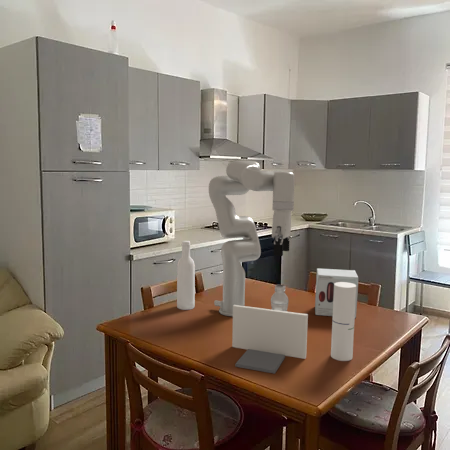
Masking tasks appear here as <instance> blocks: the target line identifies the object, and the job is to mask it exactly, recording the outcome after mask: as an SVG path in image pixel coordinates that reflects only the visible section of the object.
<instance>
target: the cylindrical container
mask: <svg viewBox="0 0 450 450" xmlns="http://www.w3.org/2000/svg"><path fill="white" fill-rule="evenodd" d="M355 300H356V285H355V284H353V283H348V282H337V283H334V297H333V316H332V320H331V321H332V322H331V324H332V325H331V345H330V348H331V349H330V357H331V358H332V359H334V360H336V361H340V362H349V361H351V360H352V359H353V357H354V356H353V355H354V354H353V353H354V336H355V335H354V334H355V319H356V318H355Z"/></svg>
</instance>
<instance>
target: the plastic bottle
mask: <svg viewBox="0 0 450 450" xmlns="http://www.w3.org/2000/svg"><path fill="white" fill-rule="evenodd" d="M270 305H271V310H279V311H287V312H288V307H289V297H288V295H287V294H286V285H285V284H276V285H275V286H274V293H273V294H272V295H271V297H270Z"/></svg>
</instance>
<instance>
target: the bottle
mask: <svg viewBox="0 0 450 450" xmlns="http://www.w3.org/2000/svg"><path fill="white" fill-rule="evenodd" d="M191 246H192V245H191V241H190V240H182V241H181V257H180V258H179V259H178V261H177V265H176V278H177V279H176V282H177V283H176V307H177V309H179V310H182V311H190V310H193V309H194V308H195V304H196V301H195V299H196V298H195V297H196V296H195V288H196V287H195V286H196V284H195V283H196V282H195V281H196V280H195V277H196V275H195V273H196V271H195V270H196V269H195V268H196V265H195V264H196V263H195V261H194V259H193V258H192V257H191Z"/></svg>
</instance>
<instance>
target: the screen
mask: <svg viewBox="0 0 450 450" xmlns="http://www.w3.org/2000/svg"><path fill="white" fill-rule="evenodd" d="M308 320H309V314H308V313H301V312H292V311H288V310H287V311H279V310H272V308H271V309H269V308H262V307H256V306H255V307H253V306H247V305H245V306H240V305H234V306H233V316H232V335H231V336H232V337H231V339H232V340H231V341H232V344H231V347H232V348H235V349H243V350H248V349H252V350H258V351H264V352H270V353H276V354H283V355H285V357H291V358H292V357H293V358H298V359H303V360H304V359H306V358H307V351H308V349H307V347H308V345H307V344H308V325H309V324H308V322H309V321H308Z"/></svg>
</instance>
